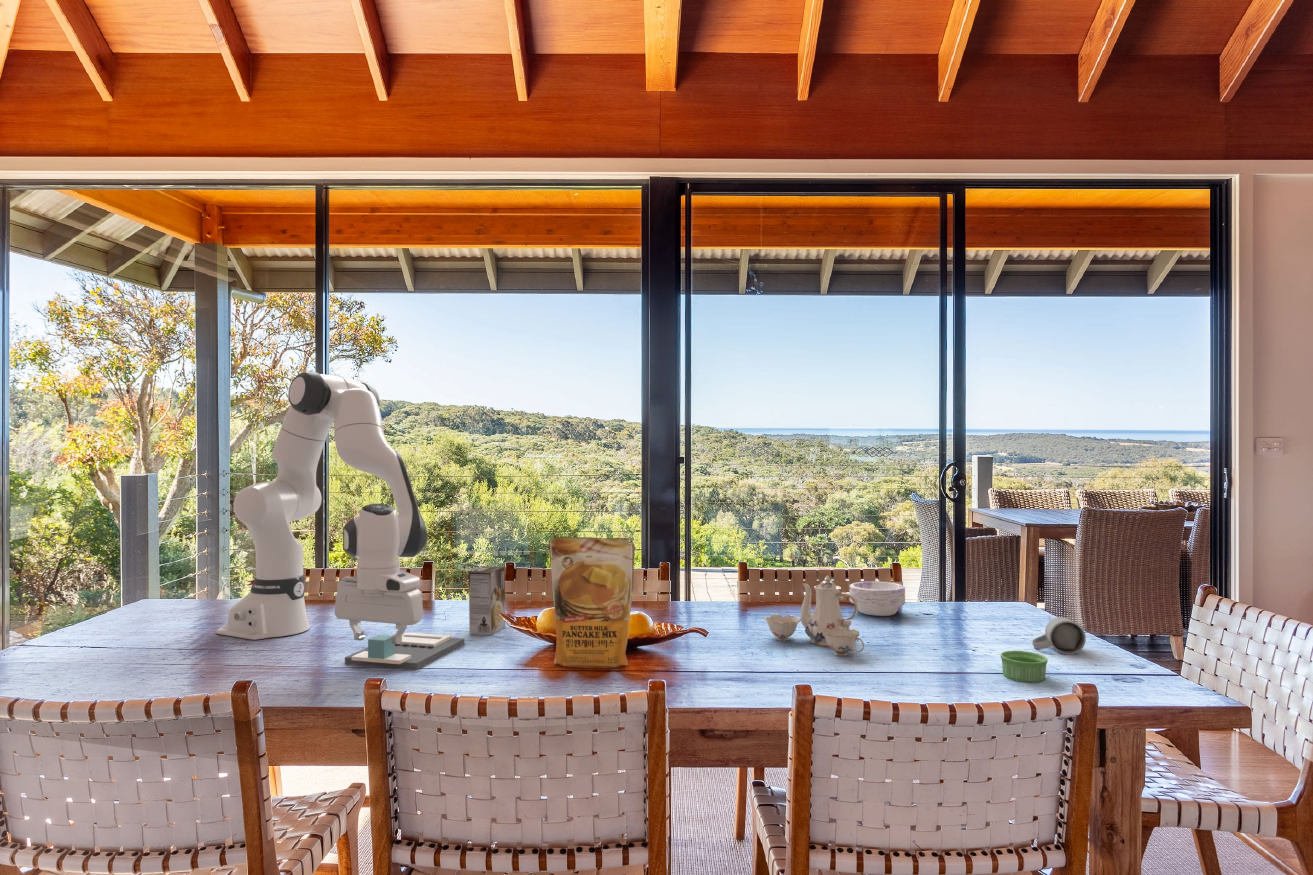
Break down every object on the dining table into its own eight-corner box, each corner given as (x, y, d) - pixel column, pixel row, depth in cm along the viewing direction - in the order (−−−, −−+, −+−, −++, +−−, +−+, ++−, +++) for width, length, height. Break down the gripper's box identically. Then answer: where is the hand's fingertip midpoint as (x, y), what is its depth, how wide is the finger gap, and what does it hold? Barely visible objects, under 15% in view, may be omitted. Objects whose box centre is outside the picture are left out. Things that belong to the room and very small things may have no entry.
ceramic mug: (1076, 646, 188) (1076, 614, 188) (1086, 655, 181) (1085, 622, 181) (1028, 644, 191) (1028, 612, 191) (1036, 653, 183) (1035, 620, 183)
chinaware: (754, 646, 196) (749, 580, 194) (791, 627, 208) (788, 565, 206) (855, 669, 176) (851, 596, 175) (890, 646, 188) (887, 578, 187)
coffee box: (483, 625, 210) (483, 565, 210) (506, 626, 209) (505, 566, 208) (468, 634, 201) (468, 571, 201) (492, 635, 200) (491, 572, 200)
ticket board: (344, 663, 175) (344, 653, 175) (399, 639, 196) (399, 630, 196) (416, 670, 171) (416, 658, 171) (464, 644, 191) (464, 634, 191)
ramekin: (1033, 670, 170) (1033, 650, 170) (1056, 683, 161) (1056, 662, 161) (992, 670, 170) (992, 650, 170) (1013, 684, 161) (1013, 662, 161)
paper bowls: (861, 604, 235) (861, 578, 234) (912, 611, 226) (912, 583, 226) (841, 614, 222) (841, 586, 222) (894, 621, 213) (894, 592, 213)
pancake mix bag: (552, 658, 179) (551, 535, 179) (635, 660, 178) (635, 536, 178) (545, 667, 173) (545, 539, 172) (632, 669, 171) (631, 540, 171)
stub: (351, 660, 173) (351, 638, 173) (363, 654, 177) (363, 633, 177) (399, 664, 170) (399, 641, 170) (411, 658, 174) (411, 636, 174)
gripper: (328, 578, 173) (327, 641, 173) (410, 584, 167) (409, 649, 167) (346, 573, 179) (346, 634, 179) (426, 579, 173) (426, 641, 173)
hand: (377, 641), depth 173 cm, fingers open, 8 cm apart
